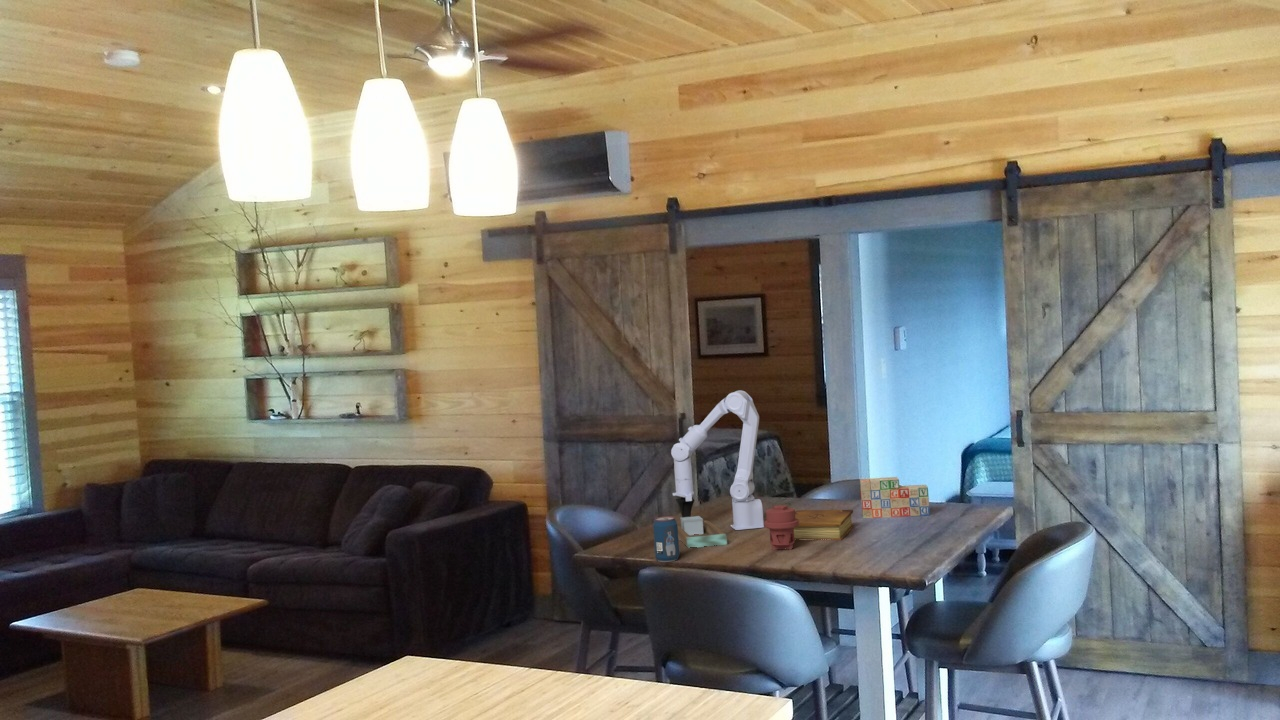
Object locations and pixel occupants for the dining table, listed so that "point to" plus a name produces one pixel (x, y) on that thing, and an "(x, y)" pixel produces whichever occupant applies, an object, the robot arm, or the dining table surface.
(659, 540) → the soda can
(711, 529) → the bay
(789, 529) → the mechanical component
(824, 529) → the diary
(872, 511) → the stack of blocks
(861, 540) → the dining table surface
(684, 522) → the box
